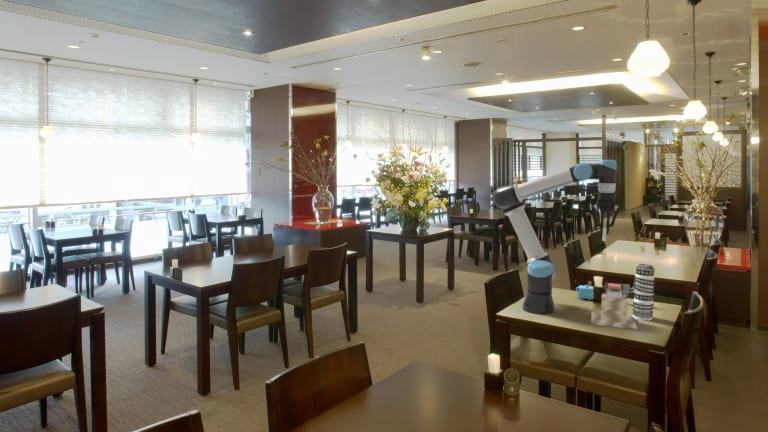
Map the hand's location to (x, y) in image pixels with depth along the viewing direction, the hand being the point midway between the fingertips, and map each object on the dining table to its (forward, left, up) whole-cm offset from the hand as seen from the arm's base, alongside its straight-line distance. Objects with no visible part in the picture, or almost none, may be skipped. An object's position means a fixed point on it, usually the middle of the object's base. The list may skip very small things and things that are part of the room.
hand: (604, 240), depth 241 cm
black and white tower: (+18, -5, -35) cm, 39 cm away
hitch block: (+5, -18, -34) cm, 39 cm away
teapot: (-6, +20, -35) cm, 41 cm away
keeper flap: (+5, -15, -19) cm, 25 cm away
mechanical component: (+12, +18, -35) cm, 41 cm away
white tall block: (+5, -18, -32) cm, 37 cm away
